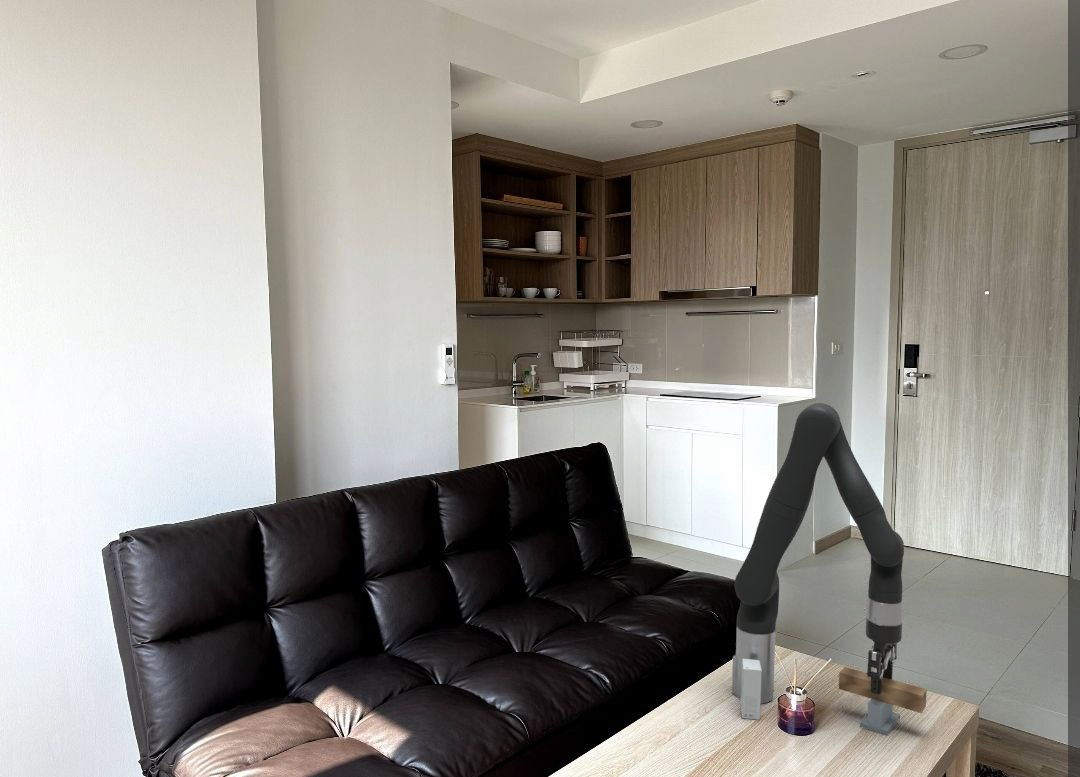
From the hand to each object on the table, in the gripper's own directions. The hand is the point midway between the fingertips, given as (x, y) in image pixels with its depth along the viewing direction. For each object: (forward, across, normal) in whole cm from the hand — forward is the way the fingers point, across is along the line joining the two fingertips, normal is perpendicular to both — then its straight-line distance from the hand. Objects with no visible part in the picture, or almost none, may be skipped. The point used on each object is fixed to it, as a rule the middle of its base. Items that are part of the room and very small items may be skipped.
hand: (881, 686), depth 178 cm
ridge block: (+9, 0, 0) cm, 9 cm away
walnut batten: (+3, 0, 0) cm, 3 cm away
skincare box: (+9, +15, -25) cm, 30 cm away
